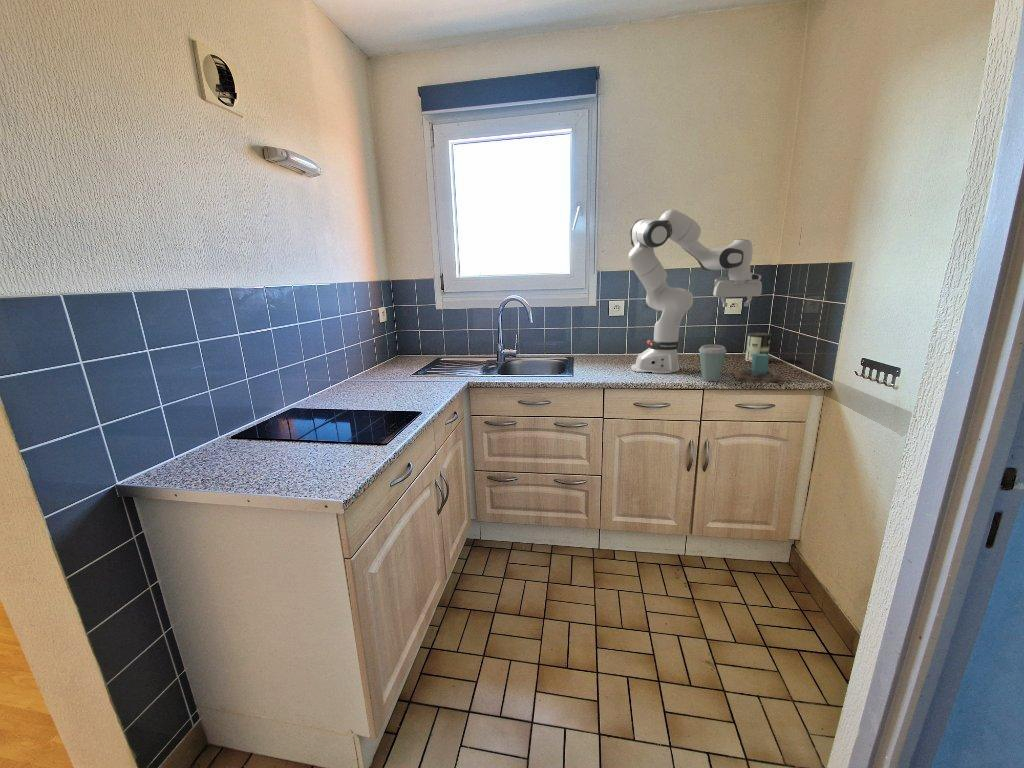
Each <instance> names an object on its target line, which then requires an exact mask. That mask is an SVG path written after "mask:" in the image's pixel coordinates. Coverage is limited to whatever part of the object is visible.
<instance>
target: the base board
mask: <svg viewBox="0 0 1024 768" xmlns="http://www.w3.org/2000/svg"><path fill="white" fill-rule="evenodd" d="M731 375H734V376H733V377H734V378H735V379H736V380H737V381H738V382H745V381H765V382H764V383H768V382H787V383H788V380H787V378H785V377H784V376H783V375H781V373H780V372H778V371H770V370H769V369H767V374H757V373H751V368H744V370H732V373H731Z"/></svg>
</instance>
